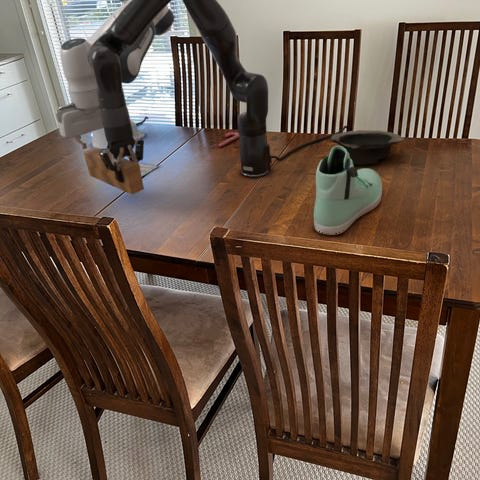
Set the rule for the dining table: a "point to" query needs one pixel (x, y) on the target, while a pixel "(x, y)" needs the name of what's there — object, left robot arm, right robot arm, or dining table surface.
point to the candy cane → (235, 136)
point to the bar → (100, 172)
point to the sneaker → (343, 192)
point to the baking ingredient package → (146, 168)
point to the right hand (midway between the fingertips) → (128, 178)
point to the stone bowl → (367, 145)
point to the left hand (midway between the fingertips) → (97, 144)
